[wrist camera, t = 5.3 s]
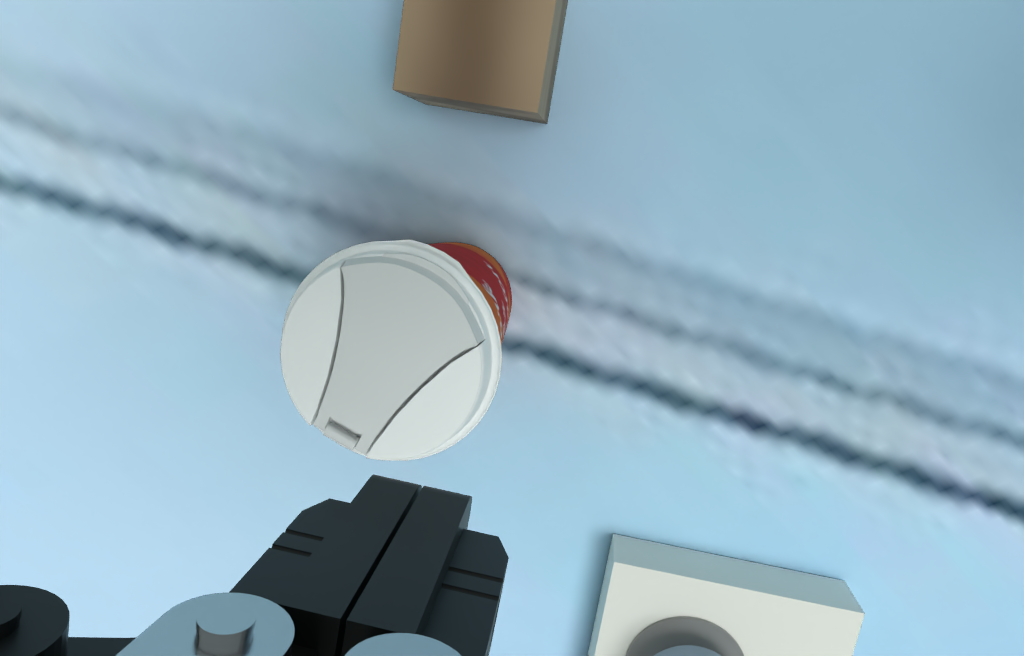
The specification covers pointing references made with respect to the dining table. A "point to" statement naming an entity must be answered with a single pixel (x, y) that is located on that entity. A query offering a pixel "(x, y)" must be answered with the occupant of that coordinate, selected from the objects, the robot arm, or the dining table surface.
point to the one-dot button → (687, 651)
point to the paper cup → (397, 345)
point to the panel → (717, 605)
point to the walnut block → (481, 55)
